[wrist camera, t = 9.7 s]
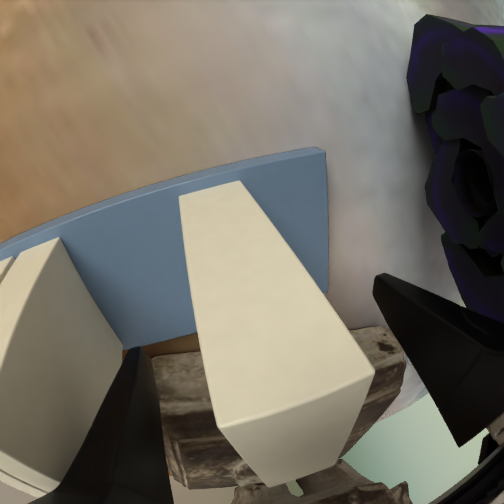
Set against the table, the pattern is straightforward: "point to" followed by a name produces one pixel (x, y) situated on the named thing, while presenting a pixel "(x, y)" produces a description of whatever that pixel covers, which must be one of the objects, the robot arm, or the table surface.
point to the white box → (268, 340)
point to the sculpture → (233, 465)
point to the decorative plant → (465, 149)
